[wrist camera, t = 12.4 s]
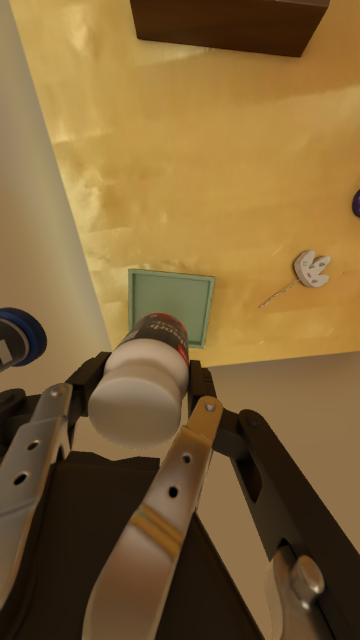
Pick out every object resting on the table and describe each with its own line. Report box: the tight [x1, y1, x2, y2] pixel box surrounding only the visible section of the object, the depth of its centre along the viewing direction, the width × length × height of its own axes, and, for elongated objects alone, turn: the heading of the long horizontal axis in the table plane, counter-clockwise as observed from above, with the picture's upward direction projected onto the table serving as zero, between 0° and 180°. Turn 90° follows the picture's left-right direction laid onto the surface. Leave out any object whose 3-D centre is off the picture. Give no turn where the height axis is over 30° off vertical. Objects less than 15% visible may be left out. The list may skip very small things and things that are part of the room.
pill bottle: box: [88, 312, 189, 450], centre depth 13 cm, size 6×6×10 cm
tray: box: [128, 269, 215, 349], centre depth 28 cm, size 13×12×2 cm
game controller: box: [260, 250, 331, 307], centre depth 26 cm, size 6×12×3 cm, turn 149°
